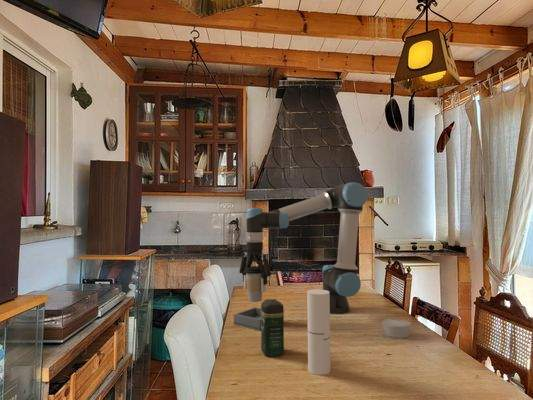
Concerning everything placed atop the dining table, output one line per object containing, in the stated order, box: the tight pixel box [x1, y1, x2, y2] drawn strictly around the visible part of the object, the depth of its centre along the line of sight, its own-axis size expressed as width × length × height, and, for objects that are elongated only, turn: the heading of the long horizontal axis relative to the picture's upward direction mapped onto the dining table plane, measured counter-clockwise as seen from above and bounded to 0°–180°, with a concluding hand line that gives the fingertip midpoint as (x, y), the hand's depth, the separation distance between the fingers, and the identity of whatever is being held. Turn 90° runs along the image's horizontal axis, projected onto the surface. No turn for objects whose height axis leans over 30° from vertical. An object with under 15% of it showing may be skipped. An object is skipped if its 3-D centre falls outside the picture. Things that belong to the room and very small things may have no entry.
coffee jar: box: [260, 298, 285, 357], centre depth 133 cm, size 10×8×19 cm
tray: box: [233, 306, 261, 332], centre depth 167 cm, size 15×15×4 cm
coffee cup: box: [245, 265, 263, 303], centre depth 168 cm, size 9×9×15 cm
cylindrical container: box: [306, 289, 331, 376], centre depth 118 cm, size 7×7×25 cm
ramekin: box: [381, 317, 412, 339], centre depth 150 cm, size 11×11×5 cm
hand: (254, 290), depth 168 cm, fingers closed on coffee cup, 9 cm apart
